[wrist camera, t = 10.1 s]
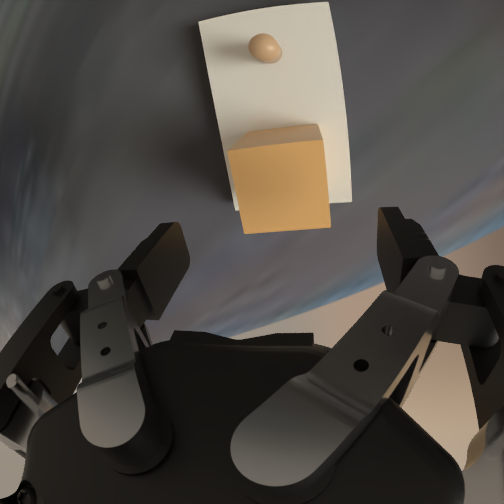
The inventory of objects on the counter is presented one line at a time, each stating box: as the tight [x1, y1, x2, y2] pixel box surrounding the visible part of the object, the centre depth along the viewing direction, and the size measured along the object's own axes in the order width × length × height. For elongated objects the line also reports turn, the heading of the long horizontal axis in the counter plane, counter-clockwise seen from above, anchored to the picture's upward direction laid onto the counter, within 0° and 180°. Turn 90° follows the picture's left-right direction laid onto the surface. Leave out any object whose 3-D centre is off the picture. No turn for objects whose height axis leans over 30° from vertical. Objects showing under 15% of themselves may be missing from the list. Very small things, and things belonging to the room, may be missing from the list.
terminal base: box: [198, 2, 352, 211], centre depth 18 cm, size 9×15×6 cm, turn 9°
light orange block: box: [227, 124, 331, 234], centre depth 19 cm, size 5×5×6 cm
